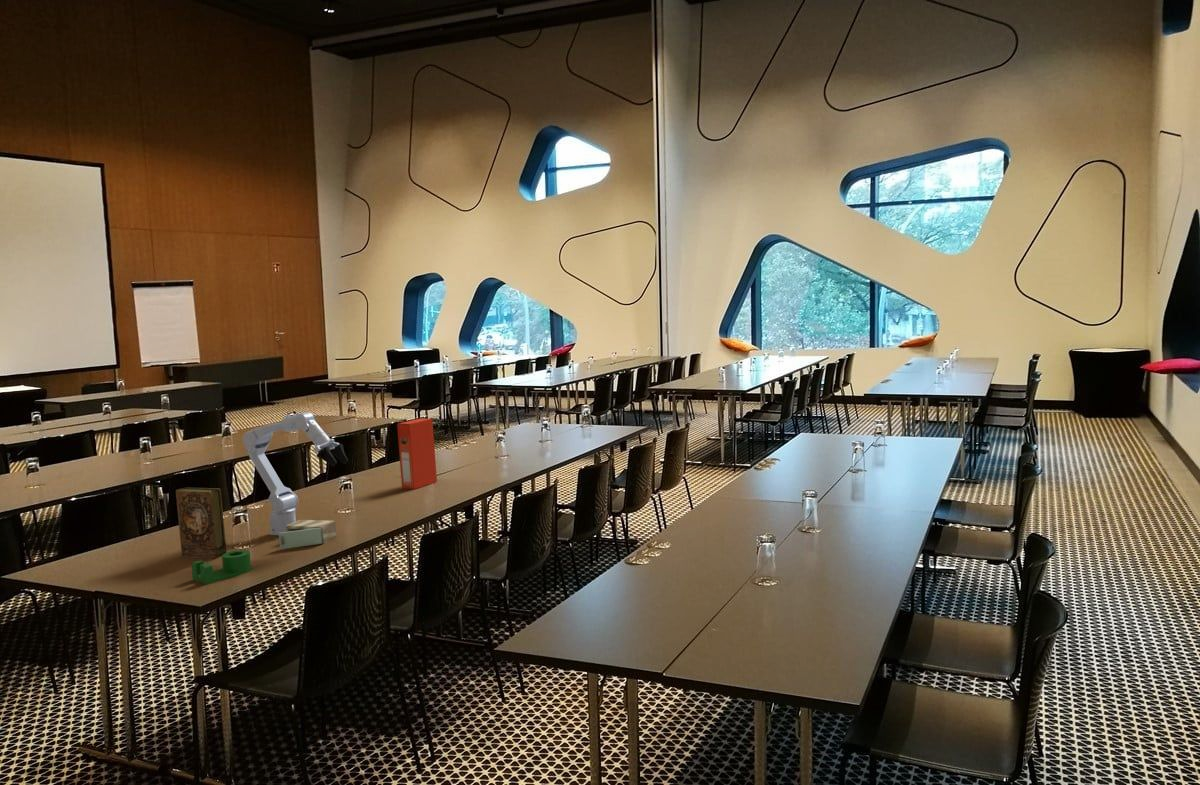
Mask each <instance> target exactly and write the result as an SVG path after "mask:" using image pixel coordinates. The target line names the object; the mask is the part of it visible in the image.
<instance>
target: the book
mask: <svg viewBox="0 0 1200 785" xmlns="http://www.w3.org/2000/svg"><path fill="white" fill-rule="evenodd" d="M175 497H176V498H175V499H176V509H177V510H176V511H177V517H178V518H177V520H178V529H179V531H178V532H179V537H180V539H179V540H180V550H181V557H182V558H192V559H193V558H195V559H197V558H198V559H216V558H218V557H219V556H222V555H223V554H224V553H227V539H226V531H225V520H224V510H223V501H222V500H223V498H222V490H221V488H215V487H213V488H210V487H209V488H208V487H182V488H178V489H176V490H175Z"/></svg>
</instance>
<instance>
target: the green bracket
mask: <svg viewBox="0 0 1200 785" xmlns="http://www.w3.org/2000/svg"><path fill="white" fill-rule="evenodd" d="M221 561H222V568H218V569H214V570H213V565H212V564H211V563H210V562H204V561H203V560H197V561H193V562H192V563H191V573H192V580H193V581H195V582H198V583H201V584H203V585H209V584H212V583H216V582H220V581H223V580H226V579H230V578H234V577H236V576H240V575H243V574H247V573H249V572H251V571H252V563H251V552H250V550H247V549H236V550H230V551H226V553H224V554H223V555H221Z"/></svg>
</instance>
